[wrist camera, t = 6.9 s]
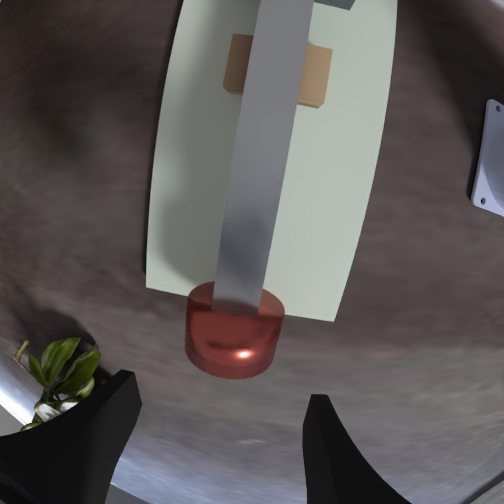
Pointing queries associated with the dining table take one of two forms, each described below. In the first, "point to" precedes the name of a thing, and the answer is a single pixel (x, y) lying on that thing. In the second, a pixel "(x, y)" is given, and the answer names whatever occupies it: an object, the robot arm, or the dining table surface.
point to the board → (298, 162)
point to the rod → (252, 205)
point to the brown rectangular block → (312, 72)
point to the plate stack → (492, 495)
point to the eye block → (337, 3)
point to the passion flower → (69, 384)
